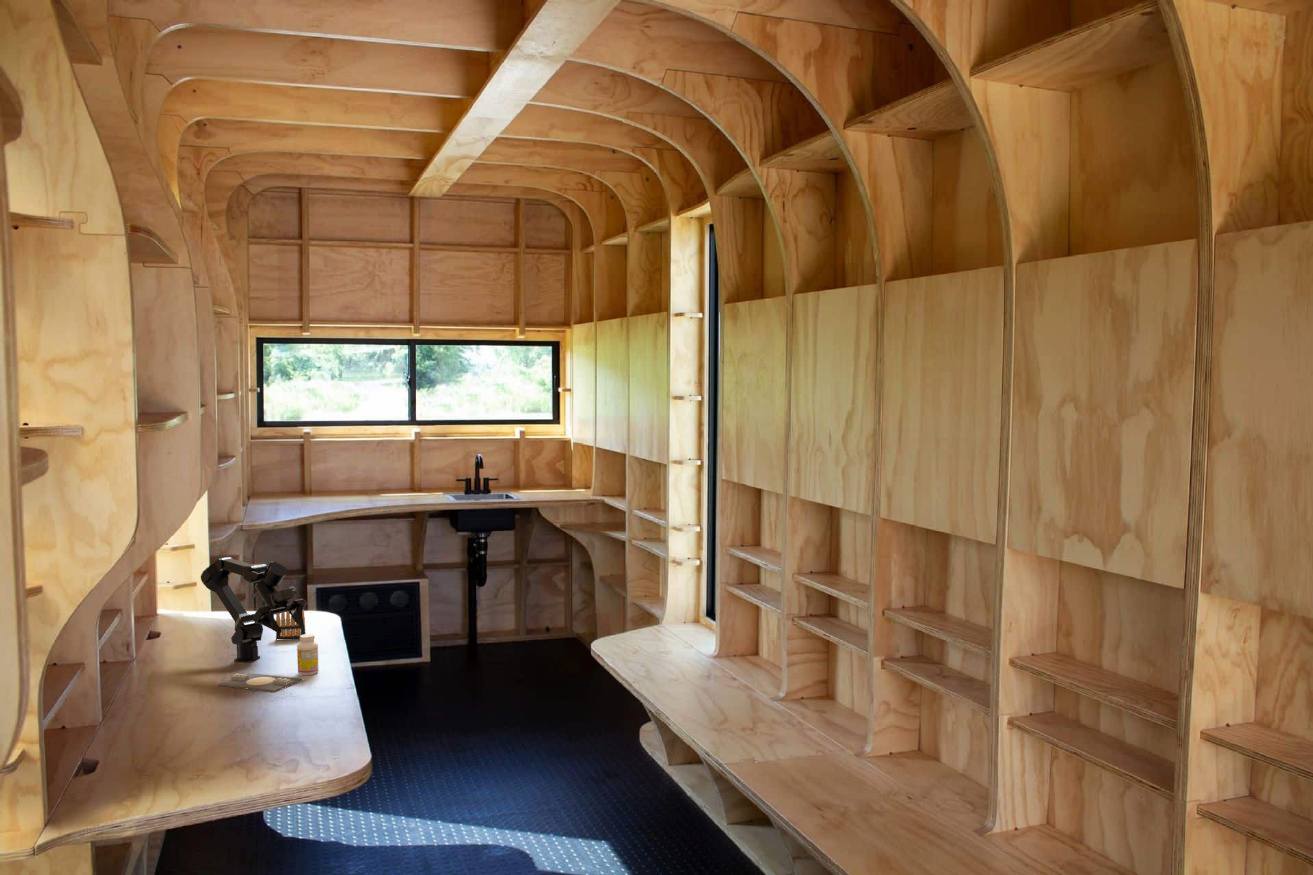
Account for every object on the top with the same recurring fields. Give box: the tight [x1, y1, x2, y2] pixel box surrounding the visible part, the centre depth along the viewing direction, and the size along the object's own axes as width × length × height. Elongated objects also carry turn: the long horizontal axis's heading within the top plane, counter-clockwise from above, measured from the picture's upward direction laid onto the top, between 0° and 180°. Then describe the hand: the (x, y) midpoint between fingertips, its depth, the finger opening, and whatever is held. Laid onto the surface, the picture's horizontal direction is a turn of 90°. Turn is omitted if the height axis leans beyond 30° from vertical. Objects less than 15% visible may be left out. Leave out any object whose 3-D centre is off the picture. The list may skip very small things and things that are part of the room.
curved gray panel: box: [218, 672, 304, 693], centre depth 361 cm, size 22×14×2 cm, turn 70°
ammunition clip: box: [275, 608, 307, 641], centre depth 420 cm, size 11×2×12 cm, turn 105°
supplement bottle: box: [296, 633, 319, 676], centre depth 372 cm, size 7×7×13 cm
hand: (292, 630), depth 376 cm, fingers open, 9 cm apart
